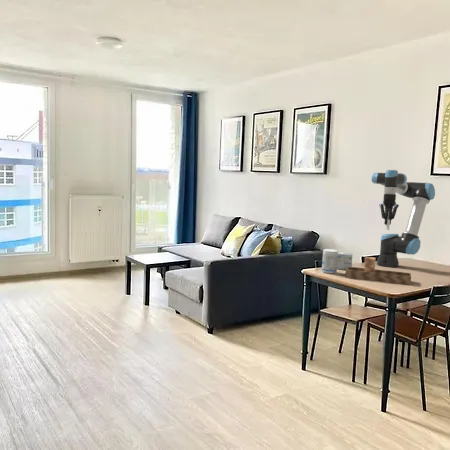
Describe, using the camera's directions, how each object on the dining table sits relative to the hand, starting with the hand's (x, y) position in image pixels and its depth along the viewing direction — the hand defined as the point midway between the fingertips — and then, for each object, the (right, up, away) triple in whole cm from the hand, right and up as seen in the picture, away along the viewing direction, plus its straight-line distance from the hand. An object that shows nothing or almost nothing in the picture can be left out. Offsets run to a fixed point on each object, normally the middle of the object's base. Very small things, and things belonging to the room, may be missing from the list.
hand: (387, 229), depth 313 cm
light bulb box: (-25, -27, +14) cm, 40 cm away
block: (-16, -28, -14) cm, 35 cm away
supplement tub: (-38, -28, 0) cm, 47 cm away
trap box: (-11, -31, -16) cm, 36 cm away
